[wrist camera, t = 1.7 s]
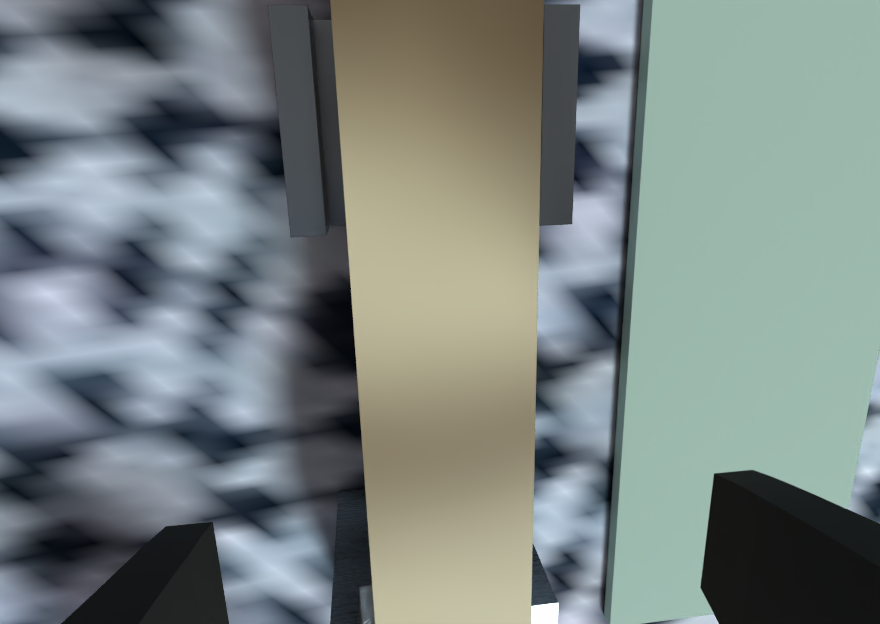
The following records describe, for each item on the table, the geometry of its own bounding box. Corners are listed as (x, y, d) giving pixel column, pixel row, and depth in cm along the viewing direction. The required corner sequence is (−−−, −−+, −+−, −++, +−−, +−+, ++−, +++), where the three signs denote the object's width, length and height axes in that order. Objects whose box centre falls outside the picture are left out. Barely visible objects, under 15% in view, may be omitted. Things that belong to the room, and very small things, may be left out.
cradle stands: (503, 573, 19) (553, 726, 14) (347, 591, 19) (342, 757, 14) (505, 49, 15) (580, 4, 10) (300, 51, 14) (267, 5, 9)
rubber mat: (819, 588, 21) (830, 599, 21) (603, 615, 20) (610, 627, 20) (940, -48, 15) (958, -54, 15) (647, -50, 14) (656, -56, 14)
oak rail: (501, 693, 15) (526, 795, 13) (384, 709, 15) (388, 818, 12) (503, 6, 11) (544, -32, 8) (335, 7, 10) (328, -33, 8)
